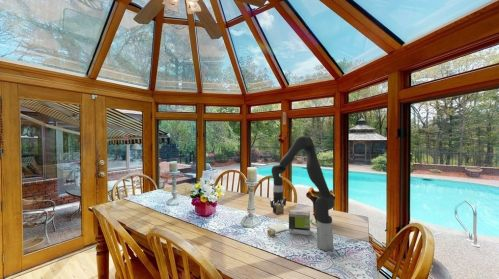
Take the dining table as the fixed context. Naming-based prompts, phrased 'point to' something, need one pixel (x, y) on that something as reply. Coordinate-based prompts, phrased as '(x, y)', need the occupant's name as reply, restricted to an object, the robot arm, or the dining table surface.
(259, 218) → the dining table surface
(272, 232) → the maple block
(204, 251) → the dining table surface
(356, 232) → the dining table surface
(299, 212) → the tea box
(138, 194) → the dining table surface
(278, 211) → the walnut cube
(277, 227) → the plate
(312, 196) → the decorative vase
